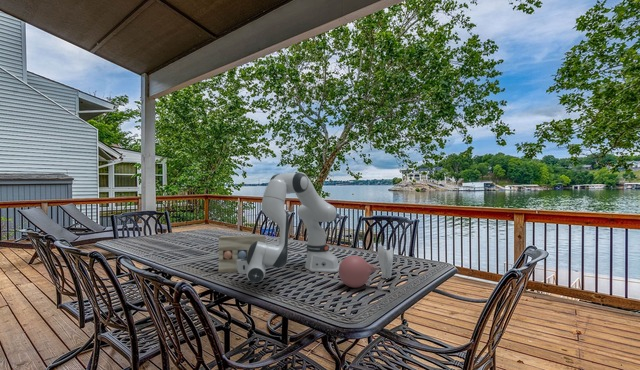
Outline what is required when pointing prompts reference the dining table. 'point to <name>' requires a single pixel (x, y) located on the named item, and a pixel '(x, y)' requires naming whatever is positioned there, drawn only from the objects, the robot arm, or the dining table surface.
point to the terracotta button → (227, 254)
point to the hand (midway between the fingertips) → (256, 259)
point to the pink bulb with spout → (355, 271)
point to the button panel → (235, 250)
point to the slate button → (242, 254)
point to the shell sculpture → (385, 261)
